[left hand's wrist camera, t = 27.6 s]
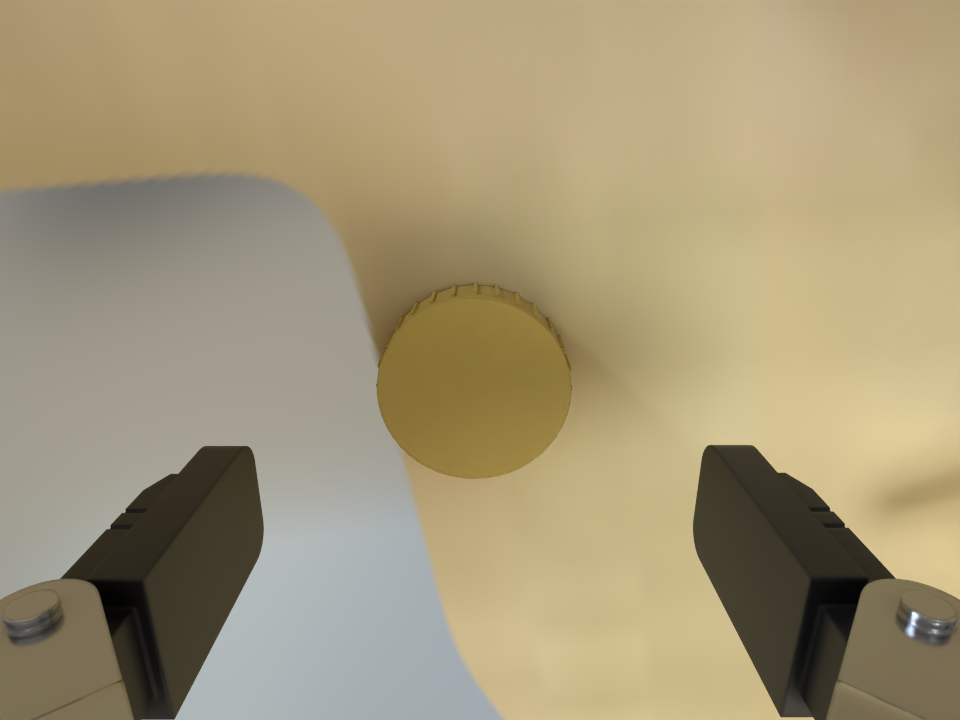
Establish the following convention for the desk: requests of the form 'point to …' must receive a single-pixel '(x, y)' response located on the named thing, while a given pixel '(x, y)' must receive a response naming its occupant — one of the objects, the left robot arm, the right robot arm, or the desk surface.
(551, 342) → the lid
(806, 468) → the desk surface
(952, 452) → the desk surface
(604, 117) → the desk surface
